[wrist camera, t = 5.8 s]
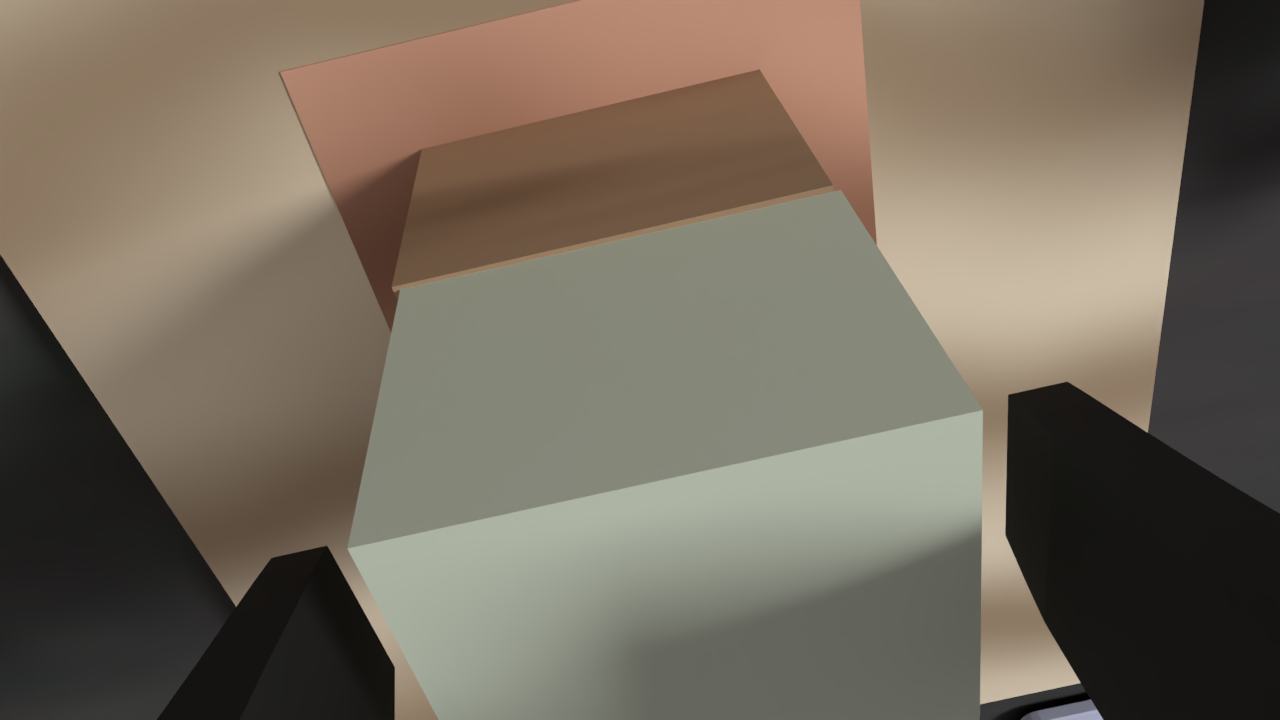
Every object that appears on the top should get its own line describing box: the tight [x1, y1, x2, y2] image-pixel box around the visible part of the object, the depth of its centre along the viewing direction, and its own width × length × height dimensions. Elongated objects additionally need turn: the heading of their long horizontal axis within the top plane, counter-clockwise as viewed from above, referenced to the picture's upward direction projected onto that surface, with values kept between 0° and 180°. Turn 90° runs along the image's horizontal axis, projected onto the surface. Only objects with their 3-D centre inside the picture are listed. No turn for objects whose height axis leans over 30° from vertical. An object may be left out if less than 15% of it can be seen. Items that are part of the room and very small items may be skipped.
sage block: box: [347, 190, 983, 720], centre depth 11 cm, size 5×5×4 cm
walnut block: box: [392, 69, 834, 301], centre depth 14 cm, size 5×5×4 cm
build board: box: [0, 0, 1204, 720], centre depth 18 cm, size 20×18×1 cm
